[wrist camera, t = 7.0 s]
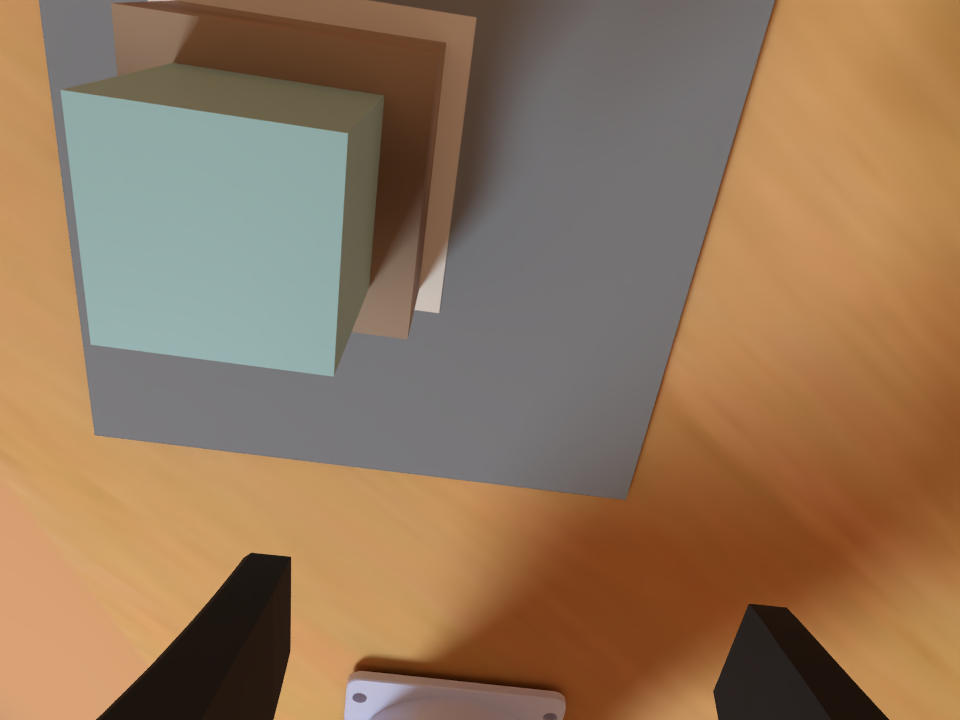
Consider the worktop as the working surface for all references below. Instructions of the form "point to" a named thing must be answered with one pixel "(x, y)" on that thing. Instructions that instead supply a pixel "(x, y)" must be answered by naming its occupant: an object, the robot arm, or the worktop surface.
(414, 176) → the walnut base block
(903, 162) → the worktop surface
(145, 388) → the build mat
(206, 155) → the teal cube
